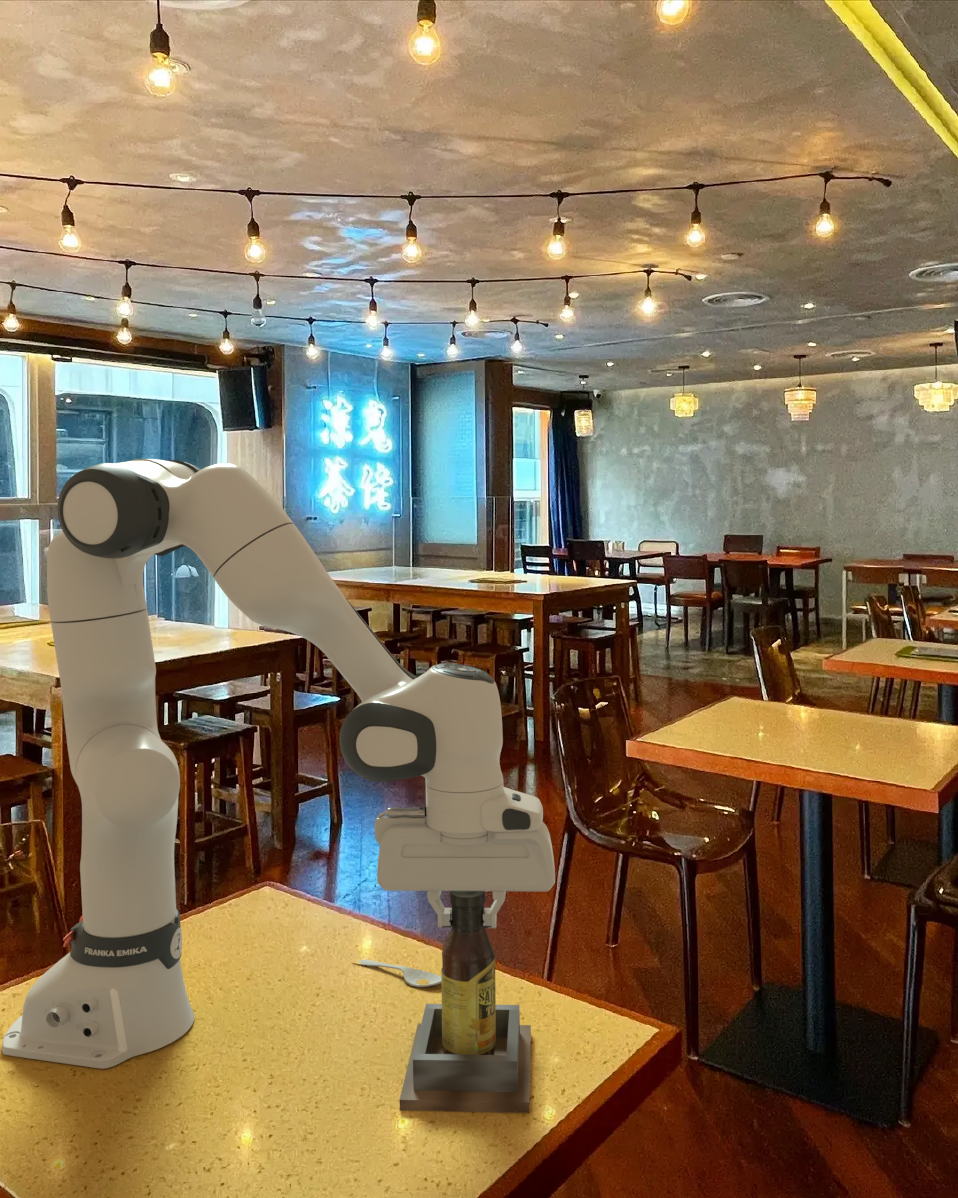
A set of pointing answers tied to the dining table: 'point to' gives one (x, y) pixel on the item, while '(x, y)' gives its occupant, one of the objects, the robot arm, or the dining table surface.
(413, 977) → the spoon
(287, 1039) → the dining table surface
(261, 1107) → the dining table surface
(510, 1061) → the box
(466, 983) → the sauce bottle
